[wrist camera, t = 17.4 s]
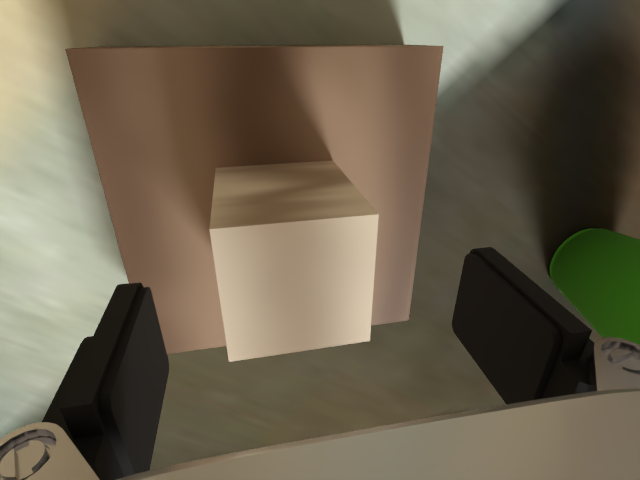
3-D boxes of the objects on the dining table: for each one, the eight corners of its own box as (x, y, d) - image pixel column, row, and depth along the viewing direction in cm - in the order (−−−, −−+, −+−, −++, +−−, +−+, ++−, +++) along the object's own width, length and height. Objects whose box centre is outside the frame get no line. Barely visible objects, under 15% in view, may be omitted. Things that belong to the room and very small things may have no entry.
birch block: (333, 160, 17) (378, 214, 12) (331, 259, 19) (369, 340, 14) (215, 167, 16) (209, 229, 11) (228, 270, 19) (229, 361, 13)
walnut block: (404, 44, 19) (443, 46, 16) (384, 282, 26) (408, 320, 22) (99, 46, 17) (65, 48, 13) (160, 309, 23) (148, 356, 20)
